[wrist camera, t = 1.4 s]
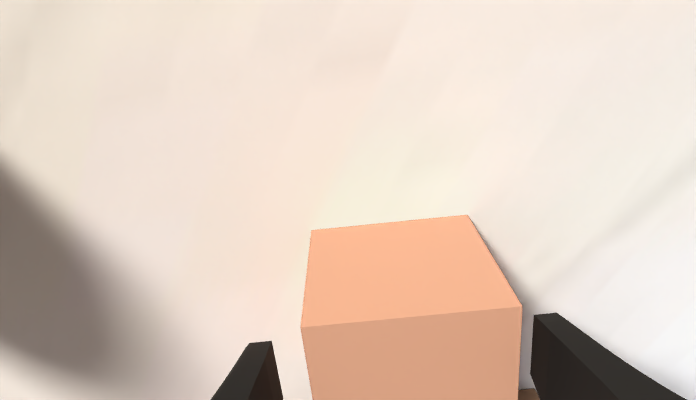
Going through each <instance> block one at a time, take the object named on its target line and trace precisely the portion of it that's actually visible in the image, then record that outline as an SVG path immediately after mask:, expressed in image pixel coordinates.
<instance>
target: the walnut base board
mask: <svg viewBox="0 0 696 400" xmlns="http://www.w3.org/2000/svg"><path fill="white" fill-rule="evenodd" d="M518 400H540V398H539V396H538V394H537V392H536V390H535V389H524V390H518Z"/></svg>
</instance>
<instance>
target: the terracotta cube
mask: <svg viewBox="0 0 696 400" xmlns="http://www.w3.org/2000/svg"><path fill="white" fill-rule="evenodd" d="M521 326H522V305H521V303H520V301H519V300H518V298H517V296H516V295H515V293H514V291H513V290H512V288H511V286H510V285H509V283H508V281H507V280H506V278H505V276H504V275H503V273H502V271H501V270H500V268H499V266H498V265H497V263H496V262H495V260H494V258H493V257H492V255H491V253H490V252H489V250H488V248H487V247H486V245H485V243H484V242H483V240H482V238H481V237H480V235H479V233H478V232H477V230H476V228H475V227H474V225H473V223H472V222H471V220H470V218H469V217H468V215H460V216H450V217H440V218H429V219H419V220H409V221H399V222H389V223H379V224H369V225H359V226H349V227H339V228H329V229H319V230H311V239H310V247H309V256H308V265H307V274H306V283H305V292H304V301H303V310H302V319H301V333H302V339H303V345H304V351H305V357H306V363H307V369H308V374H309V380H310V386H311V392H312V398H313V400H518V385H519V365H520V345H521Z"/></svg>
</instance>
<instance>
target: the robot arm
mask: <svg viewBox="0 0 696 400" xmlns="http://www.w3.org/2000/svg"><path fill="white" fill-rule="evenodd" d="M530 374H531V377H532V379H533V382H534V385H535V387H536V390H537V393H538V395H539V398H540V400H686V399H685V398H683V397H681V396H679V395H677V394H676V393H674V392H672V391H670V390H669V389H667V388H665V387H664V386H662V385H660V384H659V383H657V382H656V381H654V380H652V379H651V378H649V377H648V376H646V375H644V374H643V373H641V372H640V371H638V370H637V369H635V368H634V367H632V366H631V365H629V364H628V363H626V362H625V361H623V360H622V359H620V358H619V357H617V356H616V355H614V354H613V353H612V352H610V351H609V350H607V349H606V348H604V347H603V346H602V345H600V344H599V343H597V342H596V341H595V340H593V339H592V338H591V337H589V336H588V335H586V334H585V333H584V332H582V331H581V330H580V329H578V328H577V327H576V326H574V325H573V324H572V323H570V322H569V321H567V320H566V319H565V318H563V317H562V316H560V315H559V314H557V313H550V314H539V315H534V323H533V338H532V354H531V370H530ZM211 400H283V395H282V390H281V385H280V380H279V375H278V370H277V365H276V360H275V355H274V351H273V346H272V341H266V342H256V343H249V344H248V346H247V347H246V348H245V350H244V351H243V353H242V354H241V356H240V358H239V359H238V361H237V362H236V364H235V365H234V367H233V368H232V370H231V371H230V373H229V374H228V376H227V377H226V379H225V380H224V382H223V383H222V385H221V386H220V387H219V389H218V390H217V392H216V393H215V394H214V396H213V397H212V399H211Z"/></svg>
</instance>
